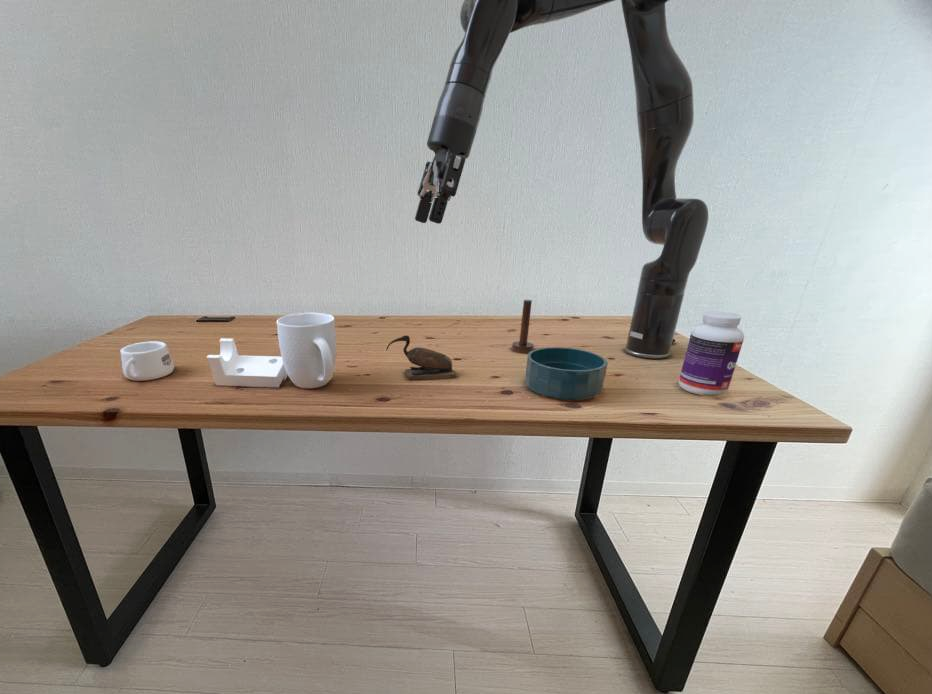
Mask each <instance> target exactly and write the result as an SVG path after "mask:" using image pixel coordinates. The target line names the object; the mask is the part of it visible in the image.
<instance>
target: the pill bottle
mask: <svg viewBox="0 0 932 694" xmlns="http://www.w3.org/2000/svg"><path fill="white" fill-rule="evenodd" d="M741 319H742V316H741V315H740V314H737V313H732V312H726V311H715V310H714V311H705V312H704V313H703V317H702V323H701V324H698V325H695V326H693V328H692V330H691V332H690V335H689V340H688V343H687V347H686V351H685V355H684V358H683V363H682V365H681V370H680V374H679V378H678V380H677V381H678V385H679V387H680V388H681V389H682V390H684V391H686V392H688V393H691V394H695V395H699V396H705V397H719V396H723V395H724V394H727V392H728V391H729V388H730V387H731V386H730V385H731V382H732V378H733V375H734V372H735V369H736V365H737V363H738V359H739V356H740V353H741V350H742V346H743V343H744V339H745V333H744V332H743V331H742V330H741V329H740V328H739V327H738V326H739V325H740V323H741Z"/></svg>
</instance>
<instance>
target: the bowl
mask: <svg viewBox="0 0 932 694" xmlns="http://www.w3.org/2000/svg"><path fill="white" fill-rule="evenodd" d="M526 354H527V355H526V361H525V371H524V385H525V387H527V388H528V389H529V390H531V391H533V392H534V393H537V394H538V395H540V396H543V397H545V398H550V399H554V400H555V399H556V400H560V401H561V400H562V401H582V400H588V399H591V398H592V399H593V398H596V397H598V396H599V395H601V394H602V392H603V390H604V384H605V379H606V375H607V369H608V364H609V363H608V360H607V359H606V358H605V357H604V356H602V355H601V354H598V353H595V352H593V351H590V350H586V349H585V350H584V349H579V348H573V347H562V346H560V347H559V346H550V347H540V348H536V349H533V351H530V352H529V353H526Z"/></svg>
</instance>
